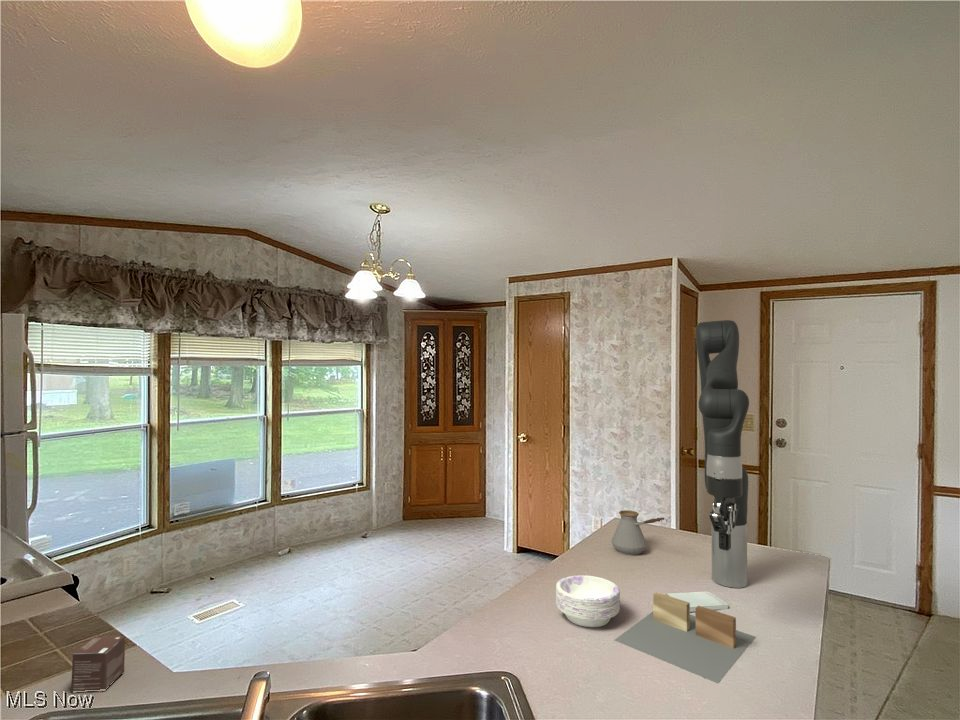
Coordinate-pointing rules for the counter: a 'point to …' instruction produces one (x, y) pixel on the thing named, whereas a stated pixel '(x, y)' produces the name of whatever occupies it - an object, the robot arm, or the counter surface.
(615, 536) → the coffee pot
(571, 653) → the counter surface
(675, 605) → the pale oak slab
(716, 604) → the hard drive
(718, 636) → the walnut slab
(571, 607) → the paper bowls
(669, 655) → the rubber mat
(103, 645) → the box
